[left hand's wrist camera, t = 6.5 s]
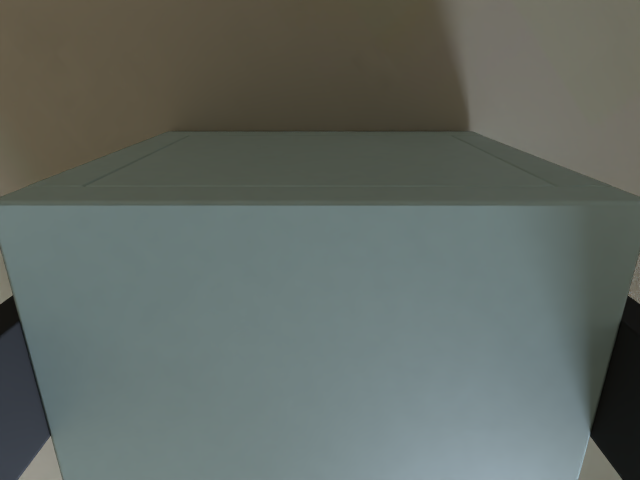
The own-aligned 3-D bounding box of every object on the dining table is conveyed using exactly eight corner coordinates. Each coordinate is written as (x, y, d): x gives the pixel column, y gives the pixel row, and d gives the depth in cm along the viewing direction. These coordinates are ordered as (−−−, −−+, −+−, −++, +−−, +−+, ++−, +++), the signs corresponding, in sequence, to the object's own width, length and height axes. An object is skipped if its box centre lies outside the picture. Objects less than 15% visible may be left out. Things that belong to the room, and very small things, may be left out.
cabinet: (427, 519, 23) (494, 794, 14) (212, 518, 23) (145, 794, 14) (473, 131, 16) (656, 201, 7) (167, 131, 16) (-15, 201, 7)
